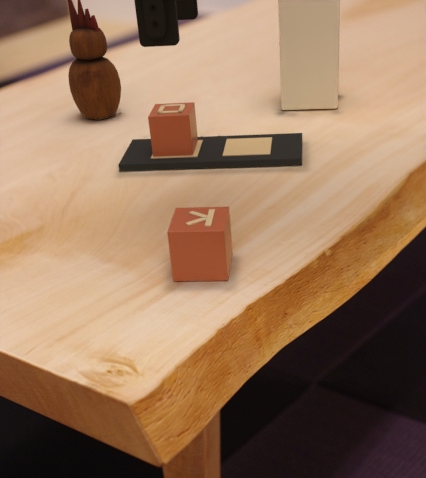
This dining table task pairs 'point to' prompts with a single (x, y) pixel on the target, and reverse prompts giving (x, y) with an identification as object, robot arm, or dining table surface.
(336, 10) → the milk carton
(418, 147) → the dining table surface
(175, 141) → the red letter o block
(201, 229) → the red letter k block
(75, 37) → the wooden figurine
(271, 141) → the word mat
